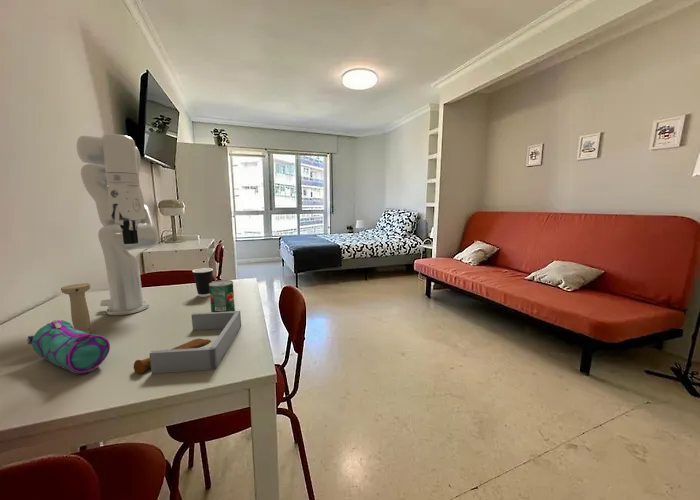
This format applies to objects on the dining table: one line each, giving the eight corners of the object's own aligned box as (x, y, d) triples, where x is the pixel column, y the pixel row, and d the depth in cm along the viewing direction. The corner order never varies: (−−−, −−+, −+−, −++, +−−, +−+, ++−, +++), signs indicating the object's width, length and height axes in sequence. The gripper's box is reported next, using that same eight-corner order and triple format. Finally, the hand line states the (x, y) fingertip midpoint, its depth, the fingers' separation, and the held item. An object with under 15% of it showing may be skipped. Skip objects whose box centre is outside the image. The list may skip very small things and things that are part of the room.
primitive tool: (198, 339, 88) (197, 328, 88) (213, 342, 86) (212, 331, 86) (131, 374, 71) (129, 360, 70) (147, 379, 69) (145, 364, 68)
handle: (98, 333, 92) (91, 285, 90) (69, 340, 88) (61, 289, 85) (95, 328, 96) (89, 282, 93) (68, 335, 91) (60, 286, 89)
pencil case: (30, 361, 76) (24, 325, 75) (75, 346, 84) (69, 313, 82) (69, 383, 67) (63, 342, 65) (115, 364, 74) (110, 327, 73)
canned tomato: (209, 311, 109) (206, 282, 108) (231, 307, 114) (229, 278, 112) (214, 318, 103) (211, 287, 101) (237, 313, 108) (235, 283, 106)
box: (151, 373, 70) (149, 353, 69) (194, 328, 95) (192, 313, 94) (216, 369, 72) (214, 349, 71) (241, 326, 97) (240, 310, 96)
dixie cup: (219, 294, 131) (217, 269, 129) (201, 299, 124) (199, 272, 122) (208, 291, 135) (206, 267, 133) (190, 295, 128) (188, 270, 127)
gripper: (121, 178, 80) (129, 247, 83) (151, 182, 95) (157, 240, 98) (90, 178, 79) (100, 247, 82) (125, 182, 94) (132, 240, 97)
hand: (131, 243), depth 90 cm, fingers closed
